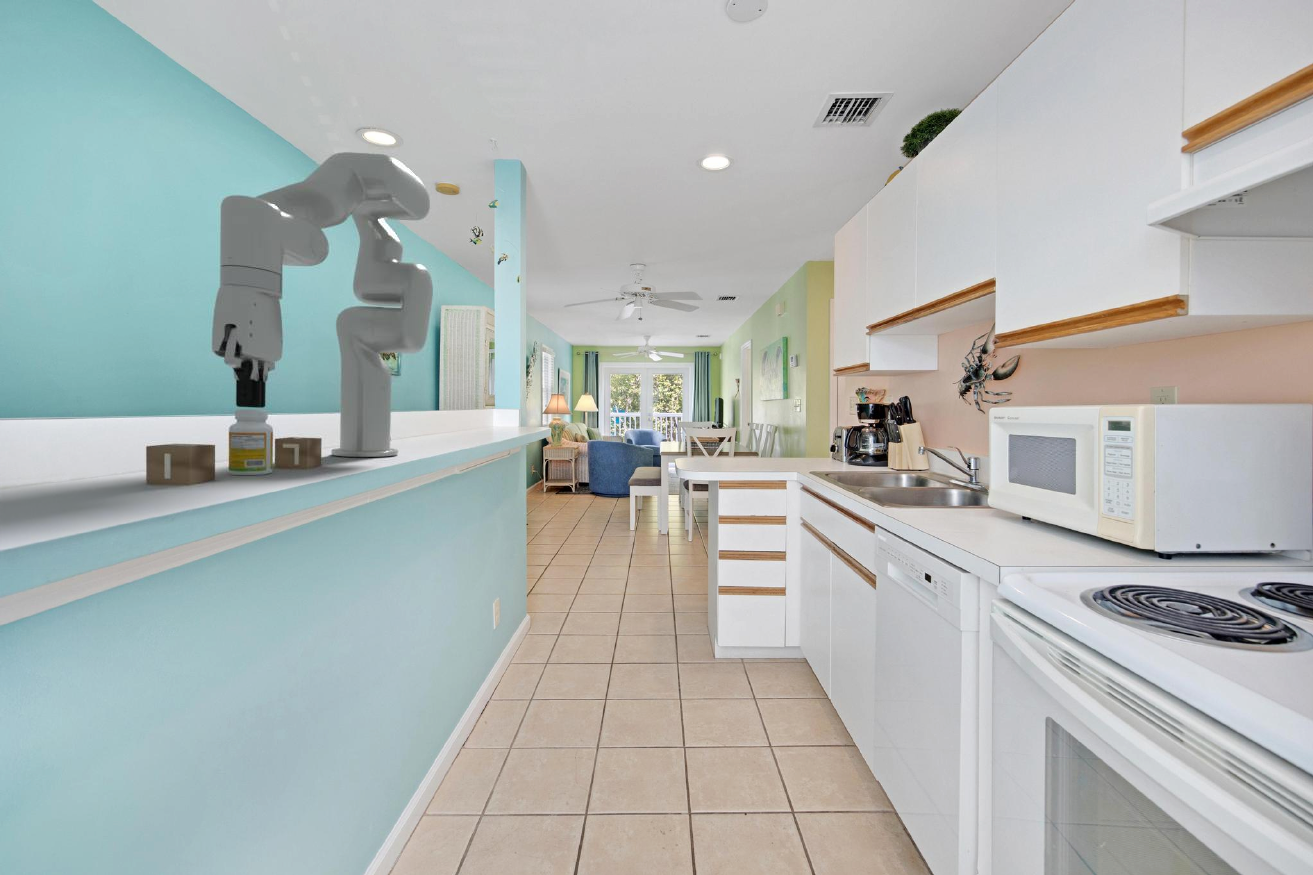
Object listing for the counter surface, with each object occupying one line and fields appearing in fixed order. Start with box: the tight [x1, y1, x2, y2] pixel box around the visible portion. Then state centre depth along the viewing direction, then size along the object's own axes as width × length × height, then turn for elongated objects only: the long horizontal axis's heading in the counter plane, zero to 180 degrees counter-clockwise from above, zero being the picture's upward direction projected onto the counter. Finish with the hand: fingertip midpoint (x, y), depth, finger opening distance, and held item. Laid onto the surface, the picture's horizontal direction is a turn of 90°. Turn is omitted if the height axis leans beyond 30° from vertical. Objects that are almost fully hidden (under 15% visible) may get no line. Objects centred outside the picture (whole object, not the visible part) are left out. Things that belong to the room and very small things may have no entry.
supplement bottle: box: [228, 409, 274, 476], centre depth 83 cm, size 5×5×10 cm
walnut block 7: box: [274, 436, 323, 470], centre depth 93 cm, size 5×5×5 cm
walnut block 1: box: [145, 443, 216, 486], centre depth 73 cm, size 5×5×5 cm
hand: (250, 406), depth 83 cm, fingers closed
